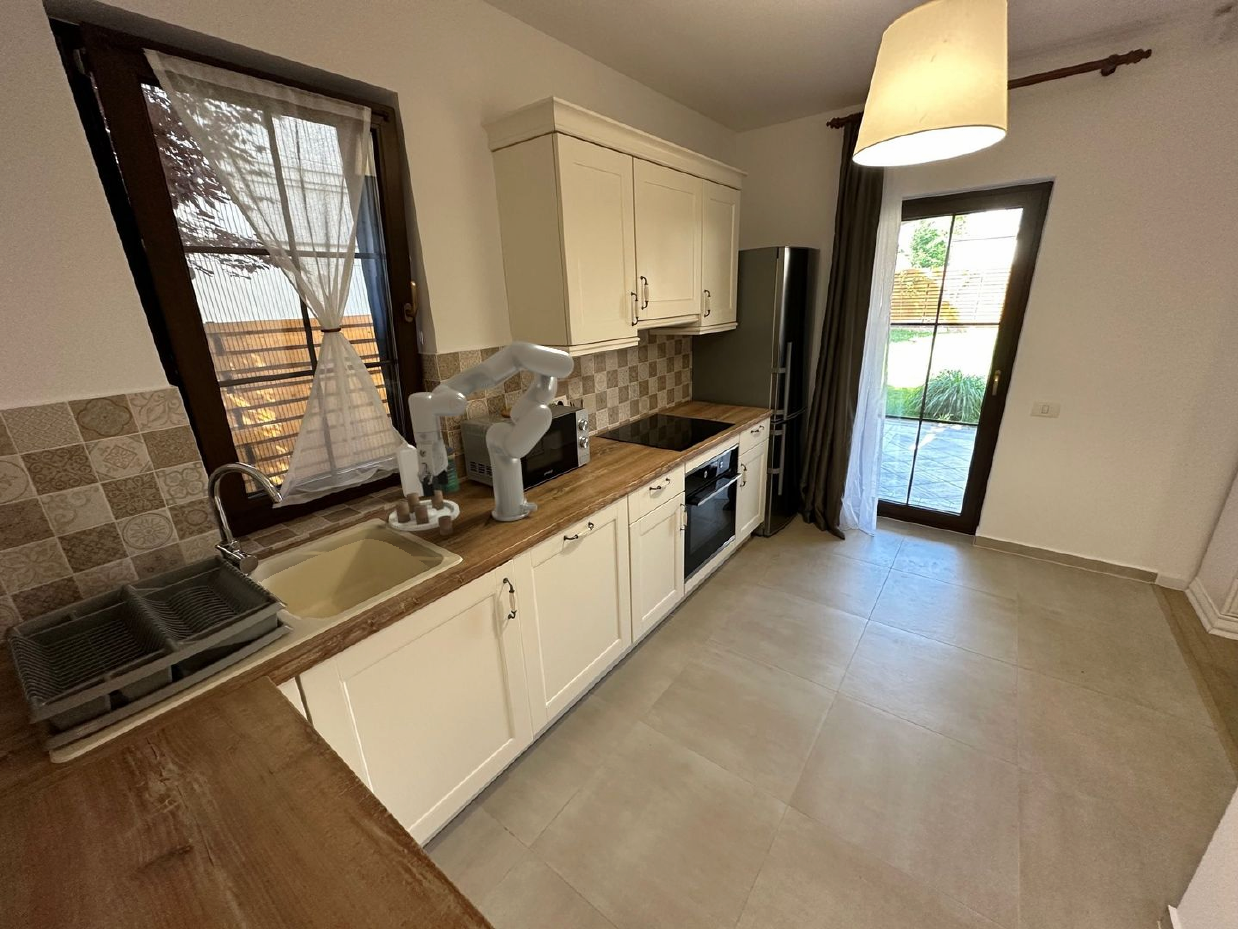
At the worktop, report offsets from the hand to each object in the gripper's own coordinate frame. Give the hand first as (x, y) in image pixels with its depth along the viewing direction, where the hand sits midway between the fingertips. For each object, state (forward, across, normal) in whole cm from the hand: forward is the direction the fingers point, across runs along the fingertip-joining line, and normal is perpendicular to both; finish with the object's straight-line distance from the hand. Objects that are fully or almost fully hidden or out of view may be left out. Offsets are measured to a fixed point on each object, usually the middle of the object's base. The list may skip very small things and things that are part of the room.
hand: (436, 489), depth 146 cm
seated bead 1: (+14, +14, +16) cm, 26 cm away
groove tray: (+15, +11, +11) cm, 21 cm away
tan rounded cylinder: (+15, -1, -2) cm, 15 cm away
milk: (+15, +28, +24) cm, 40 cm away
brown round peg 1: (+14, +7, +16) cm, 22 cm away
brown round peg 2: (+14, +5, +9) cm, 17 cm away
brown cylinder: (+14, +17, +9) cm, 24 cm away
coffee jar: (+15, +35, +14) cm, 40 cm away
